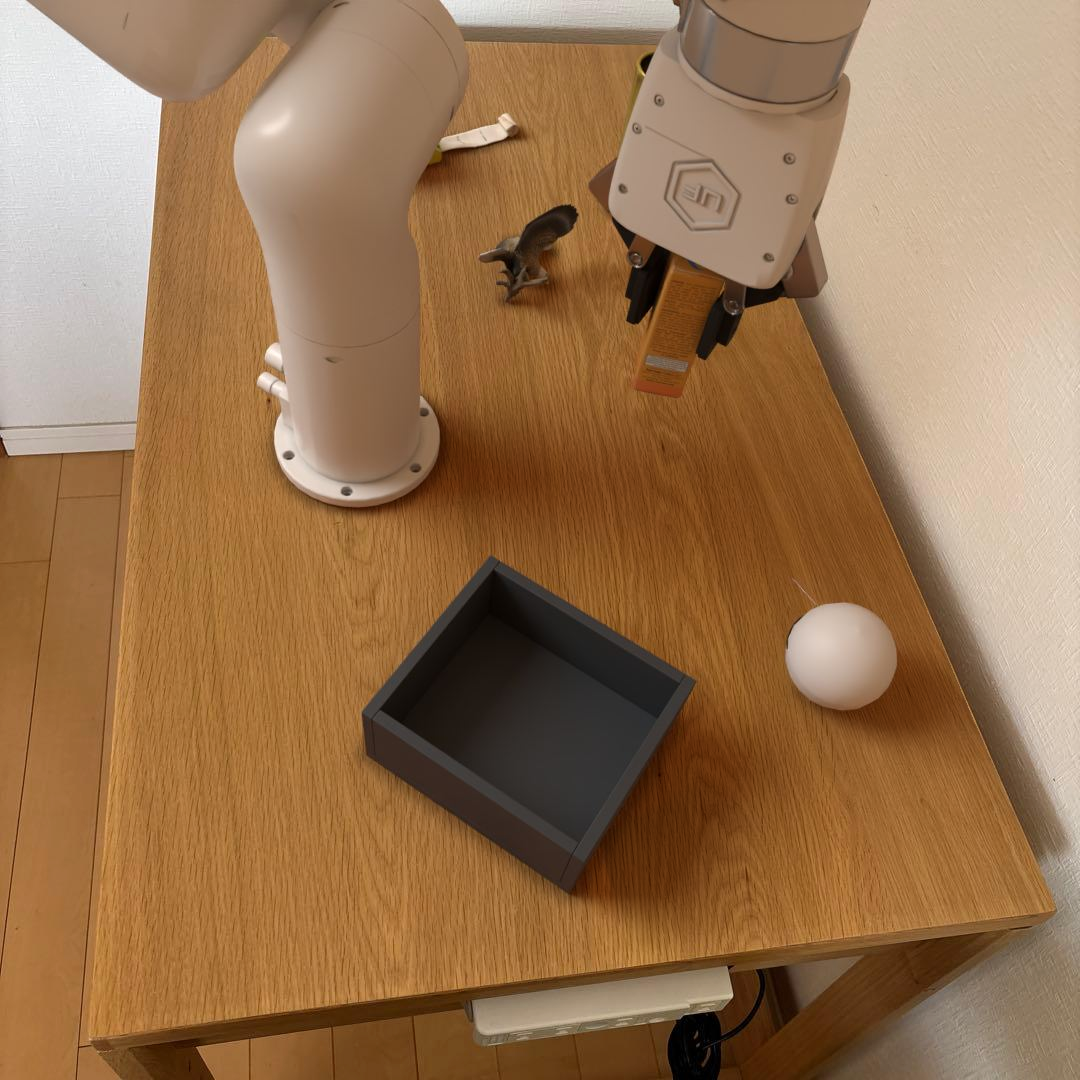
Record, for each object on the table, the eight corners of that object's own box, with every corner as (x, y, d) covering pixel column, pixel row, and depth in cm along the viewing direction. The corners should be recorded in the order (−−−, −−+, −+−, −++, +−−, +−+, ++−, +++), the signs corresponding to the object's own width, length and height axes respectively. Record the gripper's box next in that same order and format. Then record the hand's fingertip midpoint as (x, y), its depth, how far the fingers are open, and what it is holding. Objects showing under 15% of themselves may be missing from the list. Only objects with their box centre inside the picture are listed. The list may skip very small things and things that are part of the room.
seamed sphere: (890, 717, 72) (935, 671, 65) (793, 736, 70) (829, 691, 64) (837, 594, 77) (873, 541, 71) (745, 609, 75) (774, 556, 69)
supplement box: (685, 402, 64) (727, 281, 55) (631, 391, 64) (664, 269, 55) (689, 363, 66) (730, 241, 57) (636, 353, 66) (670, 229, 57)
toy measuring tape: (318, 155, 98) (312, 93, 92) (499, 112, 104) (504, 52, 99) (344, 196, 95) (340, 135, 90) (529, 150, 102) (535, 89, 96)
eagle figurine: (570, 311, 88) (596, 231, 92) (529, 255, 83) (558, 172, 86) (498, 320, 93) (525, 243, 96) (455, 267, 87) (486, 188, 91)
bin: (365, 755, 66) (360, 711, 60) (484, 606, 73) (490, 554, 67) (568, 894, 63) (584, 862, 57) (673, 724, 70) (697, 680, 64)
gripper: (563, -1, 45) (523, 303, 61) (914, 152, 42) (778, 432, 57) (640, -67, 49) (584, 234, 64) (967, 68, 46) (826, 351, 61)
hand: (676, 325), depth 61 cm, fingers closed on supplement box, 3 cm apart
